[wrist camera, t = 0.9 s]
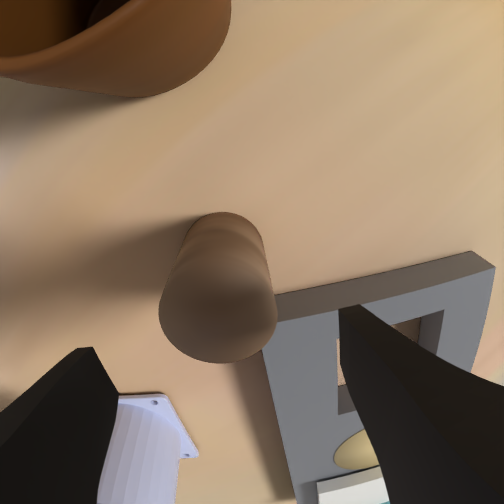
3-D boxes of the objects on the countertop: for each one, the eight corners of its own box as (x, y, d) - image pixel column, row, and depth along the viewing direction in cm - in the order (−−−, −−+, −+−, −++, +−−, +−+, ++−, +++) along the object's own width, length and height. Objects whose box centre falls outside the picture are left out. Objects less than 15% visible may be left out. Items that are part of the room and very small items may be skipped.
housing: (296, 494, 27) (299, 514, 25) (253, 299, 17) (256, 327, 15) (417, 461, 27) (424, 478, 24) (472, 250, 17) (496, 267, 15)
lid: (318, 513, 25) (321, 529, 23) (316, 482, 21) (320, 503, 19) (408, 487, 24) (413, 502, 22) (426, 449, 21) (434, 467, 19)
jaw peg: (194, 292, 17) (178, 369, 11) (174, 221, 15) (142, 276, 10) (269, 279, 17) (284, 353, 11) (255, 204, 15) (267, 253, 10)
